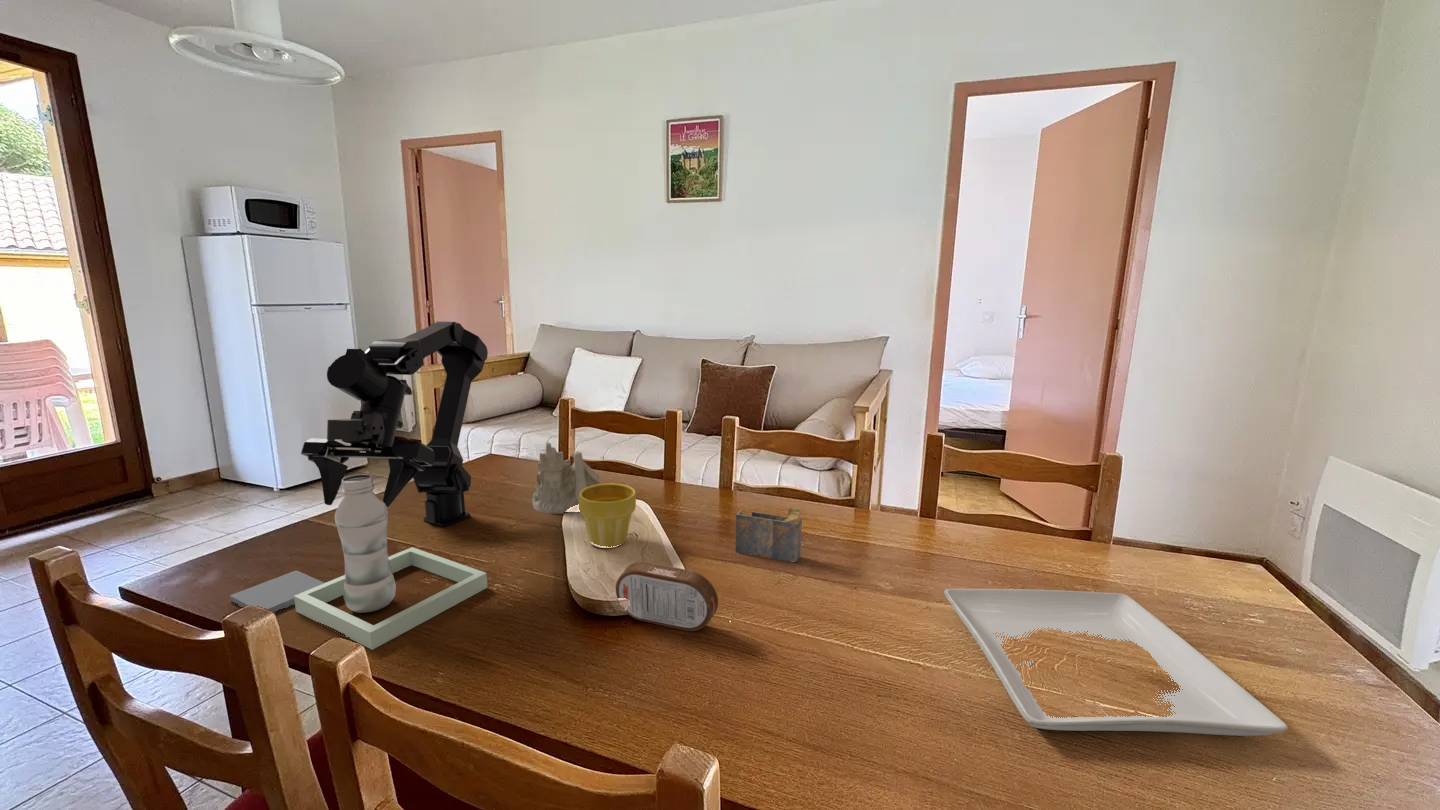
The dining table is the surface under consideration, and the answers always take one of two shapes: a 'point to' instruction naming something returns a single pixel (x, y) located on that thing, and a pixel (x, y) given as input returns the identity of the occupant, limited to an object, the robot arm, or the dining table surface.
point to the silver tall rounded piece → (364, 546)
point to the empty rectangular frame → (376, 635)
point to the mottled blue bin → (770, 535)
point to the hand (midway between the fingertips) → (356, 505)
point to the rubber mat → (276, 591)
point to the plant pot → (607, 512)
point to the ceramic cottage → (560, 481)
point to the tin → (667, 595)
